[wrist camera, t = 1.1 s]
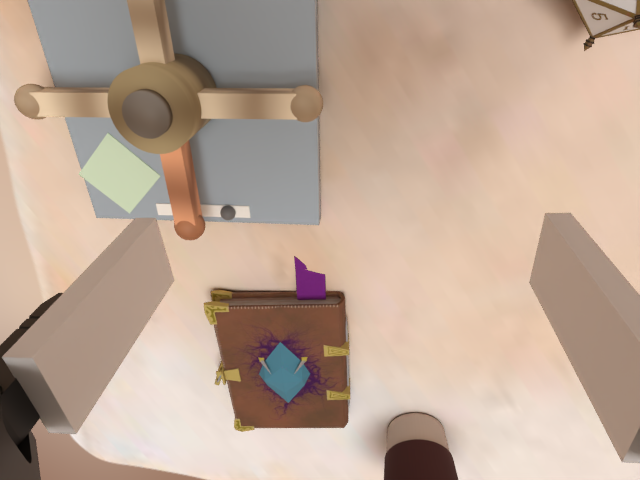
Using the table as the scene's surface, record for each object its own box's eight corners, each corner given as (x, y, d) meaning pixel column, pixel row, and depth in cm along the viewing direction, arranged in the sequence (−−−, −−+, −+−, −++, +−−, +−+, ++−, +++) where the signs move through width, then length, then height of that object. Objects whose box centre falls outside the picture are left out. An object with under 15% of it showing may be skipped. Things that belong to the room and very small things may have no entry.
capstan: (-13, -83, 30) (-103, -97, 24) (325, -94, 28) (313, -113, 22) (86, 217, 42) (42, 254, 37) (327, 224, 40) (320, 266, 34)
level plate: (10, -84, 32) (-17, -88, 29) (315, -94, 30) (311, -99, 27) (101, 210, 44) (86, 222, 42) (320, 217, 42) (318, 230, 40)
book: (346, 249, 45) (347, 277, 41) (350, 406, 58) (351, 440, 54) (192, 252, 46) (177, 280, 42) (229, 406, 59) (220, 440, 55)
